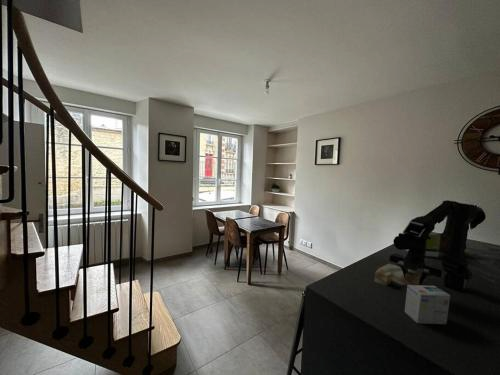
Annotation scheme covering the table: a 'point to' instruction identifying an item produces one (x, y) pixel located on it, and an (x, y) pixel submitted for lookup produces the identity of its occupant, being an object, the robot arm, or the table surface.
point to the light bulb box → (427, 304)
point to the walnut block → (412, 278)
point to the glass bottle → (447, 235)
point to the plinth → (394, 272)
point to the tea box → (432, 245)
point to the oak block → (383, 277)
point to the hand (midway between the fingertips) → (413, 283)
